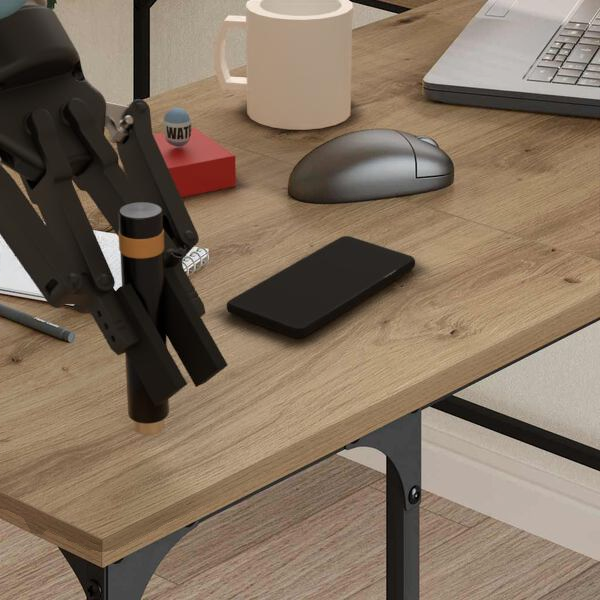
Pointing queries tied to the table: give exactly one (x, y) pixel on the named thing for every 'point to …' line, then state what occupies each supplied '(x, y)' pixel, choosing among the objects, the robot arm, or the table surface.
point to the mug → (293, 62)
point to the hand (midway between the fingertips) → (191, 384)
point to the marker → (144, 298)
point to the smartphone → (320, 286)
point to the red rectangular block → (194, 156)
